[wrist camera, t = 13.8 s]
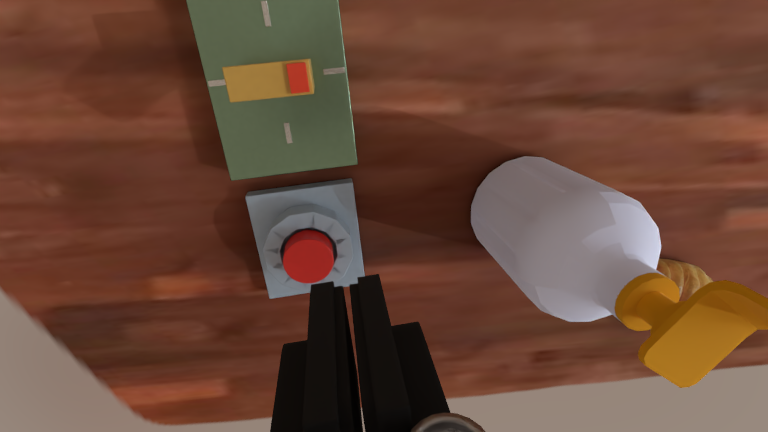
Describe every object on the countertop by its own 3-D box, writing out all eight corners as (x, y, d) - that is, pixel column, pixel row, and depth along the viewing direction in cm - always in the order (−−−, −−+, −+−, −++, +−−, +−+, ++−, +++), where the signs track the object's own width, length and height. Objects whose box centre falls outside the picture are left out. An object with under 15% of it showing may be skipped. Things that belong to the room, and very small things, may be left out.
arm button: (280, 233, 29) (278, 243, 28) (329, 226, 30) (330, 235, 28) (289, 275, 31) (287, 287, 29) (336, 268, 31) (336, 279, 29)
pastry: (598, 297, 39) (625, 320, 36) (637, 239, 38) (670, 257, 34) (664, 321, 42) (695, 345, 39) (704, 268, 40) (741, 288, 37)
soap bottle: (447, 222, 34) (704, 552, 11) (517, 133, 32) (1000, 319, 9) (520, 269, 37) (838, 606, 14) (588, 191, 35) (1083, 438, 12)
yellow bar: (245, 94, 26) (228, 103, 21) (239, 65, 25) (220, 67, 20) (314, 87, 26) (314, 94, 22) (310, 58, 26) (308, 58, 21)
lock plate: (187, -28, 25) (175, -35, 23) (331, -39, 26) (333, -47, 24) (236, 173, 30) (230, 181, 28) (355, 158, 31) (358, 165, 29)
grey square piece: (247, 191, 30) (240, 204, 28) (351, 177, 31) (354, 189, 28) (270, 291, 34) (266, 312, 31) (364, 276, 35) (368, 295, 32)
